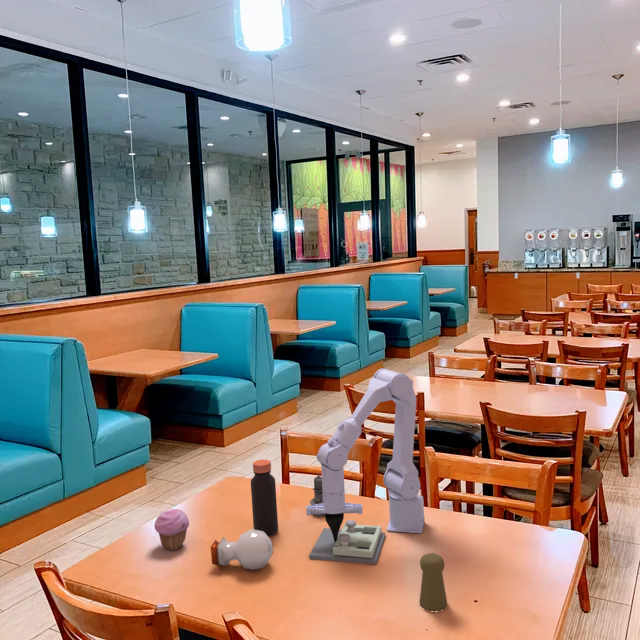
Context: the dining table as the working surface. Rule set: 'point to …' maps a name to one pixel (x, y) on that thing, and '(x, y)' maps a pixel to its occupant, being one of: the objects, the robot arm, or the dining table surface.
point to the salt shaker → (317, 494)
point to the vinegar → (264, 498)
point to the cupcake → (172, 528)
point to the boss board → (328, 549)
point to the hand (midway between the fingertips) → (335, 539)
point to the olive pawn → (432, 583)
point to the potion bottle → (244, 550)
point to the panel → (358, 541)
